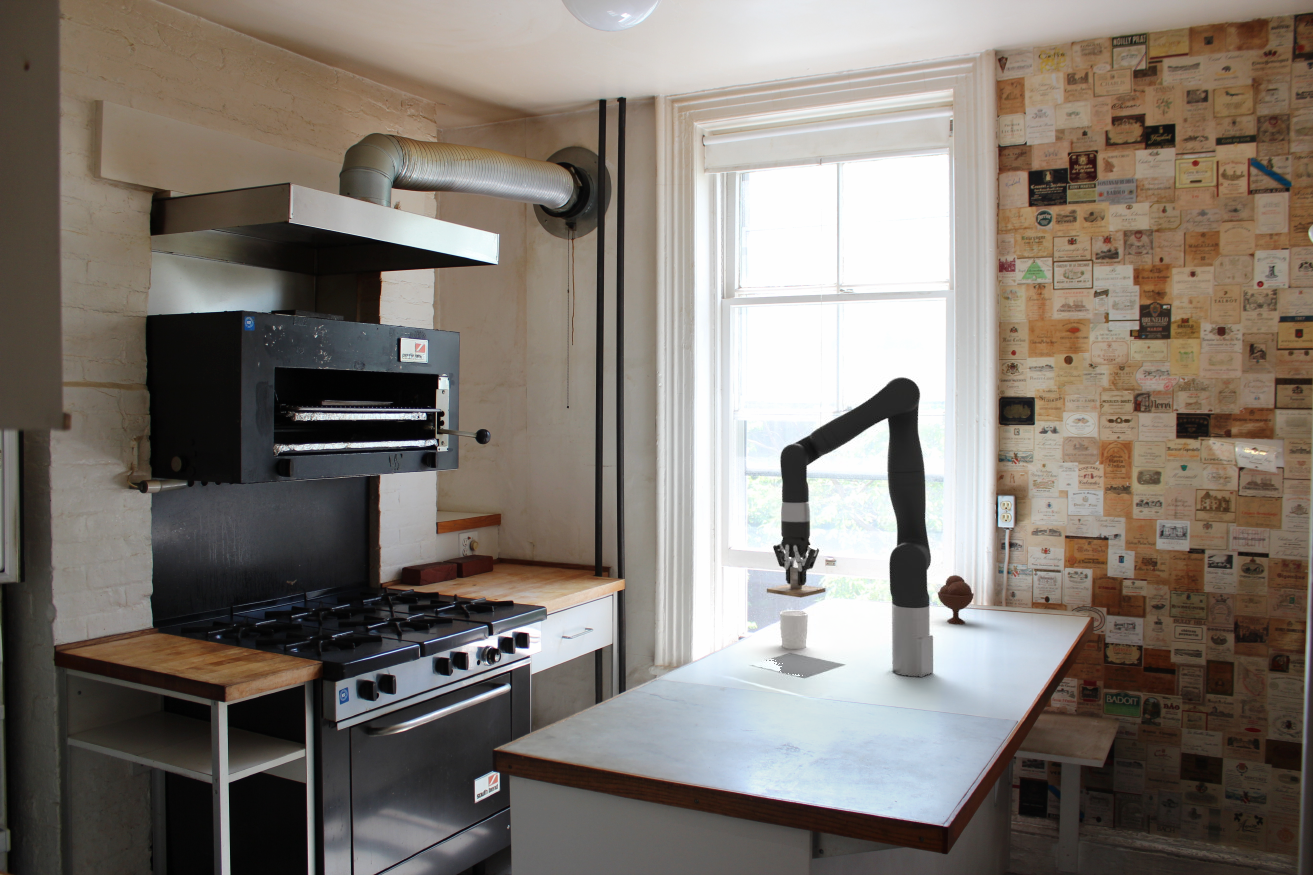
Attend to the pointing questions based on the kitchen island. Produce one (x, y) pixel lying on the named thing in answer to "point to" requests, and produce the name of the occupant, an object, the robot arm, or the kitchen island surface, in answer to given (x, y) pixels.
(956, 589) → the ice cream bowl
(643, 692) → the kitchen island surface
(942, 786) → the kitchen island surface
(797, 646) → the white cup
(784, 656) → the mat
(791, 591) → the lid
